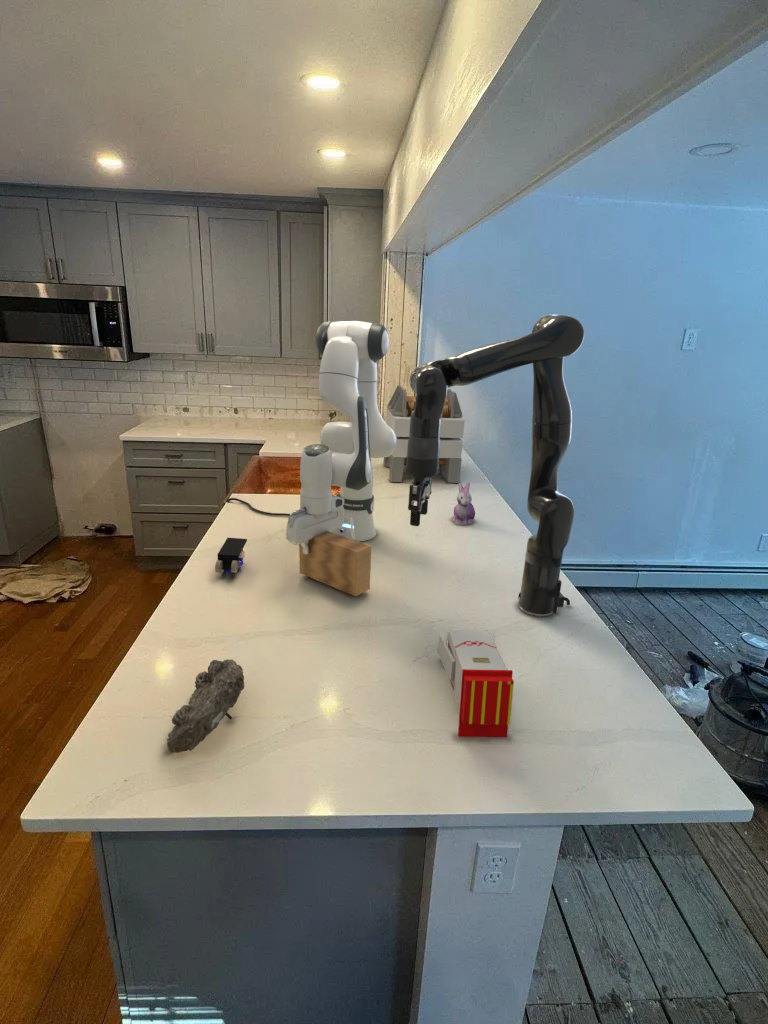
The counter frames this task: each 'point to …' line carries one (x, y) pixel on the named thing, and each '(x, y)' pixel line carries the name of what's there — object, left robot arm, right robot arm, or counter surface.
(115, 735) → the counter surface
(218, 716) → the fossil
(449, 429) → the transformer
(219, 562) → the figurine character
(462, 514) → the figurine
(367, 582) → the box
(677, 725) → the counter surface
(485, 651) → the toy
